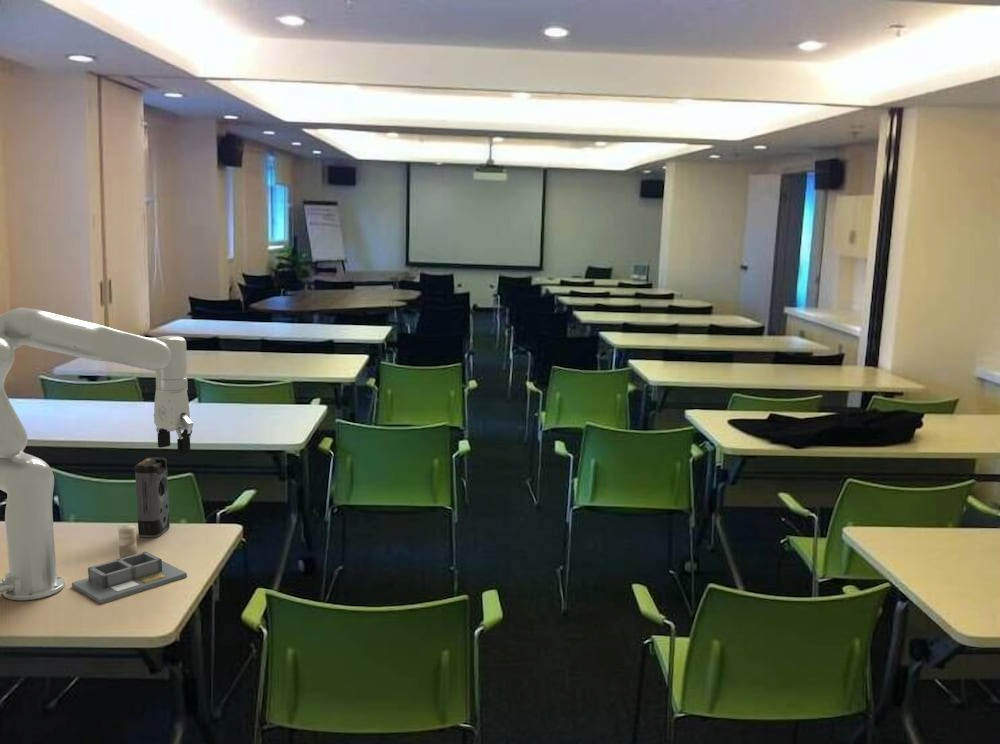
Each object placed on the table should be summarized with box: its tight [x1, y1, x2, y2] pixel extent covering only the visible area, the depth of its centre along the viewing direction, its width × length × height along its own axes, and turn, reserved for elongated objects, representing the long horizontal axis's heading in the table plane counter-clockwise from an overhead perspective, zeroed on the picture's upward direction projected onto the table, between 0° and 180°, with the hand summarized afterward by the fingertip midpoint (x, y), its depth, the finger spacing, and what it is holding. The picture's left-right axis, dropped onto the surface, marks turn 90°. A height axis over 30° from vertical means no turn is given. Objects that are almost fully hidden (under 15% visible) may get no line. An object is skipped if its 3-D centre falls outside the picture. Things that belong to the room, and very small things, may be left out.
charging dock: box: [71, 551, 188, 605], centre depth 208 cm, size 21×14×4 cm, turn 140°
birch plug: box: [117, 524, 138, 559], centre depth 222 cm, size 4×4×8 cm
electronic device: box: [134, 456, 171, 539], centre depth 240 cm, size 9×6×20 cm, turn 179°
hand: (174, 450), depth 227 cm, fingers open, 9 cm apart
